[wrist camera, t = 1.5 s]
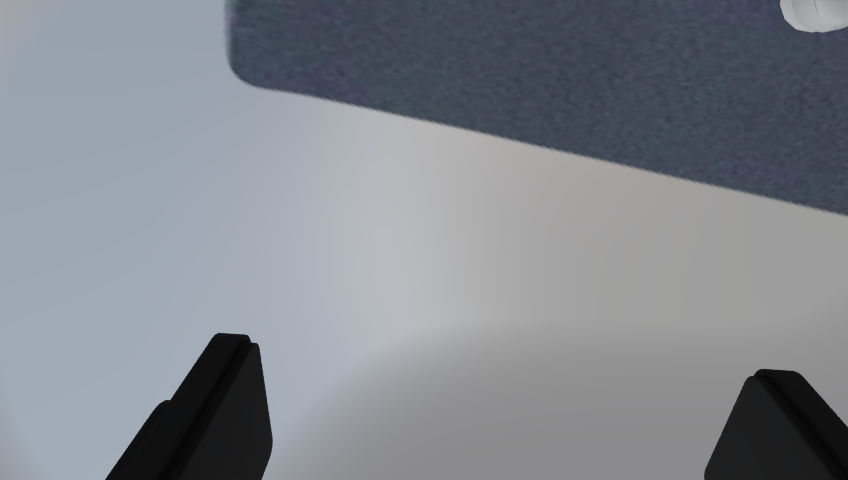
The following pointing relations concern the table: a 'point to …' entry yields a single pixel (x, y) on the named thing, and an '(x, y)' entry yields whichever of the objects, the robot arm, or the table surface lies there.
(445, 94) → the table surface
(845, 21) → the rook chess piece
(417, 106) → the table surface
